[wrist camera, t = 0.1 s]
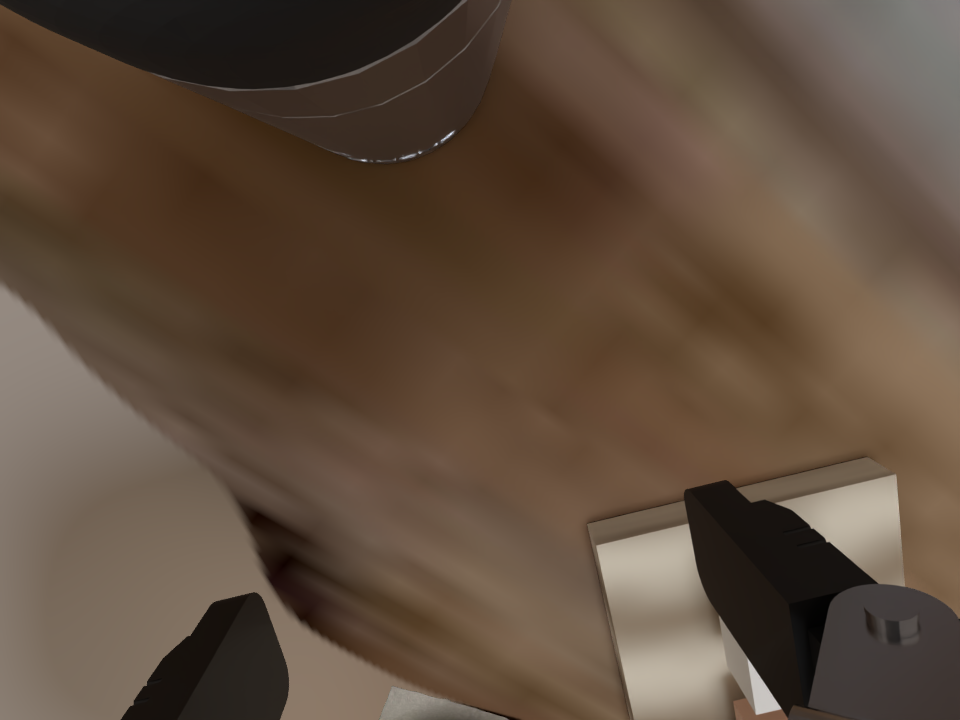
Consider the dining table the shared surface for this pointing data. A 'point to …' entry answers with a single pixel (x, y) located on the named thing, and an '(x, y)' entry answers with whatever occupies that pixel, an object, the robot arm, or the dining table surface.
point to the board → (681, 597)
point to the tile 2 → (747, 716)
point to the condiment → (428, 708)
